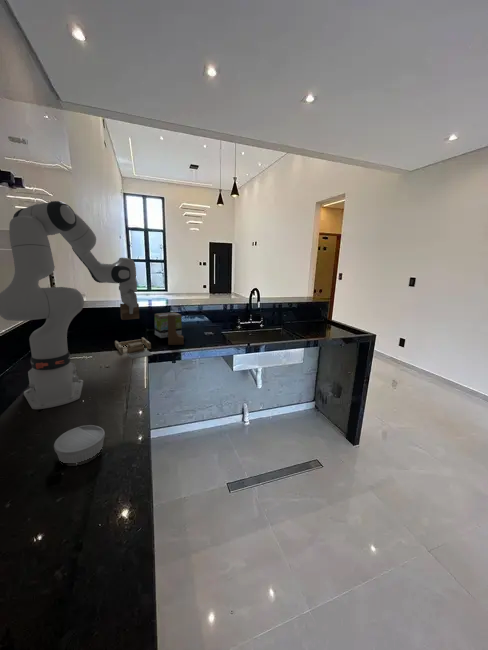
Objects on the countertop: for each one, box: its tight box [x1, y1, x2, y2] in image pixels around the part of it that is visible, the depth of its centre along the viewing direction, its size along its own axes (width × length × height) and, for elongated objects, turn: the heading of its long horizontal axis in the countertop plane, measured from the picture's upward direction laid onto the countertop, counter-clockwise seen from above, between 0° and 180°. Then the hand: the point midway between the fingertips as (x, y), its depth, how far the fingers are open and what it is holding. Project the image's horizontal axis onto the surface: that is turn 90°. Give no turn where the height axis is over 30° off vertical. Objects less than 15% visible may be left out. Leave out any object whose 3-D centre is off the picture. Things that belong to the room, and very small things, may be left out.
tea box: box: [154, 311, 183, 339], centre depth 179 cm, size 15×10×15 cm
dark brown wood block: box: [119, 302, 140, 321], centre depth 150 cm, size 4×9×8 cm, turn 127°
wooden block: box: [167, 314, 185, 346], centre depth 161 cm, size 9×4×18 cm, turn 104°
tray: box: [114, 336, 152, 354], centre depth 153 cm, size 15×16×4 cm
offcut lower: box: [127, 345, 146, 354], centre depth 148 cm, size 4×8×2 cm, turn 127°
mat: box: [126, 349, 153, 360], centre depth 143 cm, size 8×11×1 cm
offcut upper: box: [128, 342, 143, 348], centre depth 148 cm, size 4×7×2 cm, turn 133°
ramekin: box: [53, 424, 106, 463], centre depth 70 cm, size 11×11×5 cm
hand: (129, 312), depth 150 cm, fingers closed on dark brown wood block, 3 cm apart
